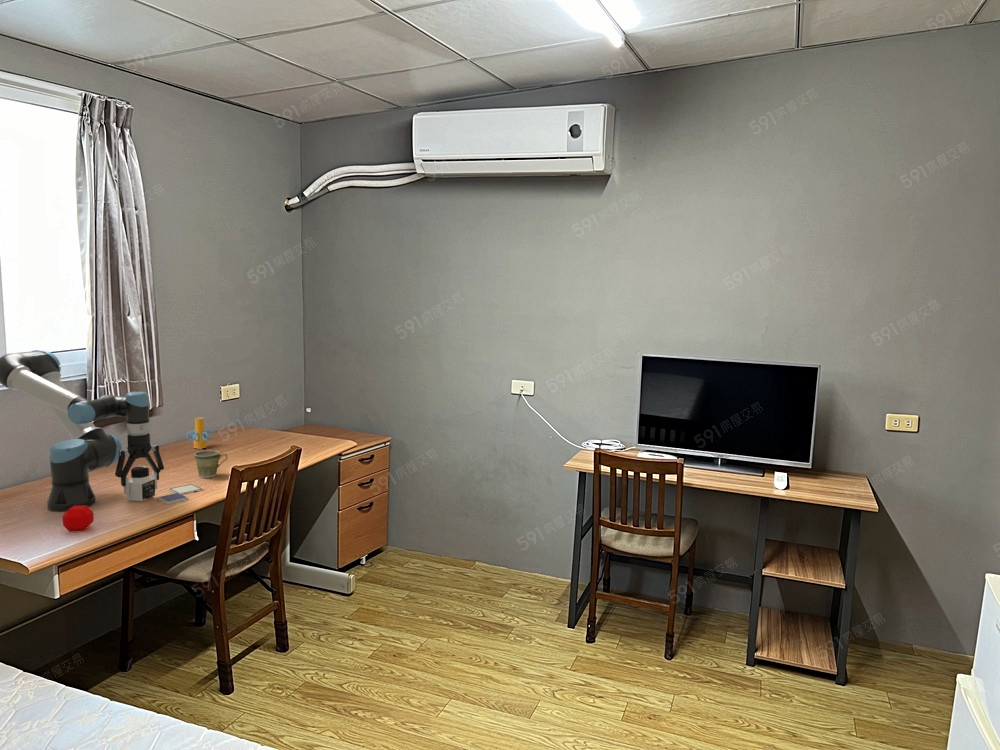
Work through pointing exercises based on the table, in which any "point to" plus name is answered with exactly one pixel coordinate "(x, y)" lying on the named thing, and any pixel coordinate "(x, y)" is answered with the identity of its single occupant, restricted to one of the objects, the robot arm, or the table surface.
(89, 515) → the ball
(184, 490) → the print card
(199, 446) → the cylinder
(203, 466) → the ceramic cup
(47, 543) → the table surface
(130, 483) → the medicine bottle
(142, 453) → the robot arm
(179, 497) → the ink pad
